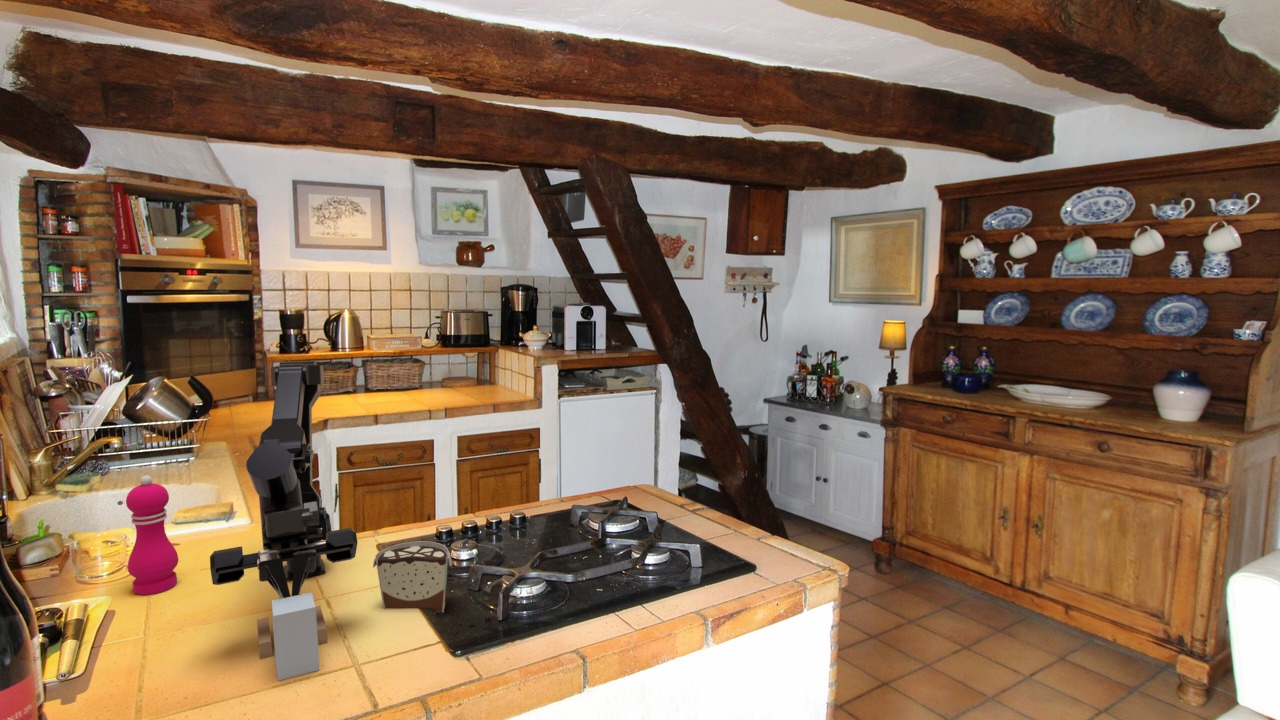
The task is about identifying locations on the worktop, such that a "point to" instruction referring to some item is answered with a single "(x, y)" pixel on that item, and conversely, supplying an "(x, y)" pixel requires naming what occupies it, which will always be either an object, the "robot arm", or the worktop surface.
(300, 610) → the block
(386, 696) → the worktop surface
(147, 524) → the pepper mill
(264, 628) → the tan cradle
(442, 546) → the food container
